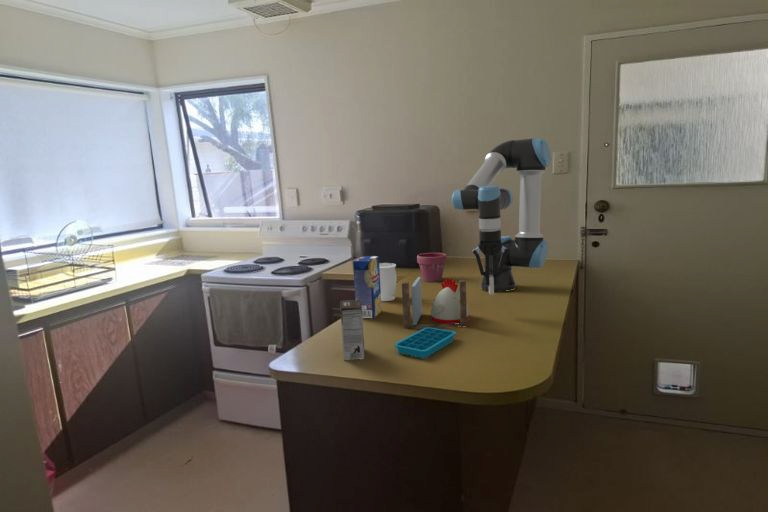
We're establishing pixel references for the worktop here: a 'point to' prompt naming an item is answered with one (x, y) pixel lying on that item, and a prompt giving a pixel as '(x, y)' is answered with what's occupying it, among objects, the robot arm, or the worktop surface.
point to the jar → (387, 281)
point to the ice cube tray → (425, 342)
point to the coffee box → (352, 329)
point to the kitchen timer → (447, 304)
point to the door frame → (408, 324)
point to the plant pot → (431, 266)
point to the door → (416, 300)
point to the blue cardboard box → (368, 285)
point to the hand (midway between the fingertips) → (491, 293)
